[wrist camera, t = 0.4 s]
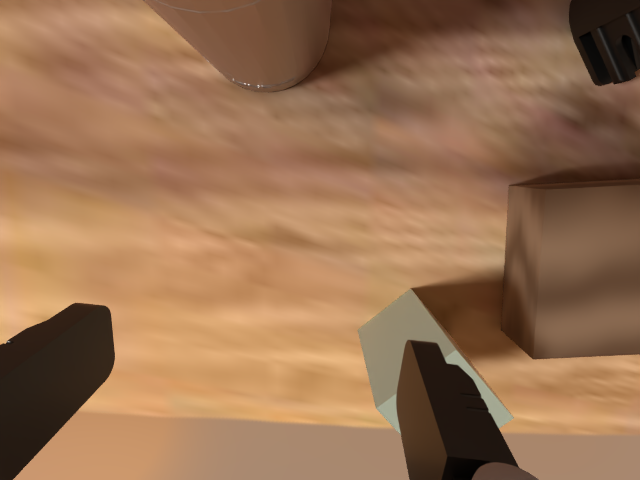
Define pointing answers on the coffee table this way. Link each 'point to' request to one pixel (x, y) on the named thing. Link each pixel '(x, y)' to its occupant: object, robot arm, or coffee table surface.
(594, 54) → the end cap
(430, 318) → the tall sage green block
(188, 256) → the coffee table surface
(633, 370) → the coffee table surface
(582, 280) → the walnut box
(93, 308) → the robot arm
